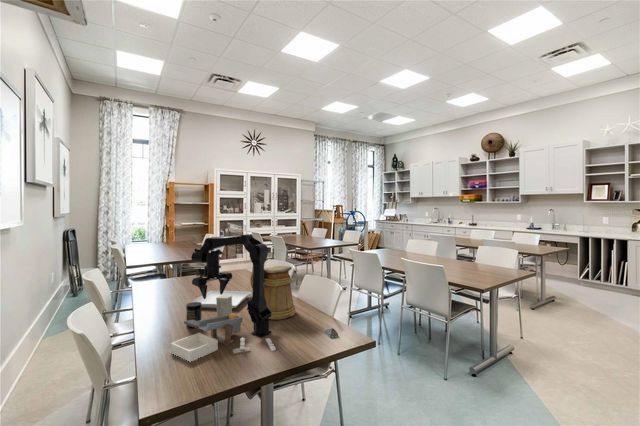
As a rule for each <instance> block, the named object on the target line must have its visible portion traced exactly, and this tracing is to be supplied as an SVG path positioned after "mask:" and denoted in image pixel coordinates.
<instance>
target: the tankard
mask: <svg viewBox="0 0 640 426" xmlns="http://www.w3.org/2000/svg"><path fill="white" fill-rule="evenodd" d="M291 270H292V267H291V266H288V265H279V266H271V267H264V291H263V295H264V298H265V300H266V304H267V308H268V309H269V310H270V311H271V313H272V315H271V317H270V318H268V320H269V321H270V320H271V321H272V320H274V321H276V320H284V319H288V318H291V317H293V316H295V314H296V313H297V312H296V306H295V304H294V301H293V294H292V293H293V292H292V287H291V286H292V285H291V283H292V278H291V277H292V276H291V275H290V274H289V273H290V272H289V271H291ZM250 275H251V276H250V286H251V288H252V290H253V272H252V273H251V274H250Z"/></svg>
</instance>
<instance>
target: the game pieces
mask: <svg viewBox="0 0 640 426" xmlns="http://www.w3.org/2000/svg"><path fill="white" fill-rule="evenodd" d="M324 329H325V330H324V333H325V334H326V336H328V337H329V338H330V339H334V338H333V337H335V338H338V337H339V333H338V331H336V329H334V328H333V327H331V328H324ZM239 341H240V343H239V345H240V346H239V347H237V348H232V349H231V350H232V354H233V355H239V354H244V353H251V348H250V346H245V345H246V338H245V337H241V338H240V339H239ZM265 341H266V343H267V345H268V347H269V349H270V351H271V352H273V351H277V350H276V346H275V345H274V343H272V342H273V341H272V339H271V338H270V337H269V338H265Z"/></svg>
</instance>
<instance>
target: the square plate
mask: <svg viewBox="0 0 640 426" xmlns="http://www.w3.org/2000/svg"><path fill="white" fill-rule="evenodd" d="M251 294H253V291H243V290H242V291H241V290H240V291H239V290H224V292H223V294H220V290H210V291H207V294H206V299H204V298H203V296H202V295H201V296H199V297H197V298H195V299H194V300H192V301H191V302H201V303H202V309H205V308H206V309H217V302H216V298H217V297H219V296H232V309H236V308H237V307H238V306H239V305H240V304H241V303H242V302H243V301H244V300H246V299H247V298H249V296H251Z"/></svg>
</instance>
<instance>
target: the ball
mask: <svg viewBox="0 0 640 426" xmlns="http://www.w3.org/2000/svg"><path fill="white" fill-rule="evenodd" d="M237 316H238V314H236V313H234V312H232V314H230V316H229V319H234V318H237Z"/></svg>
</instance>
